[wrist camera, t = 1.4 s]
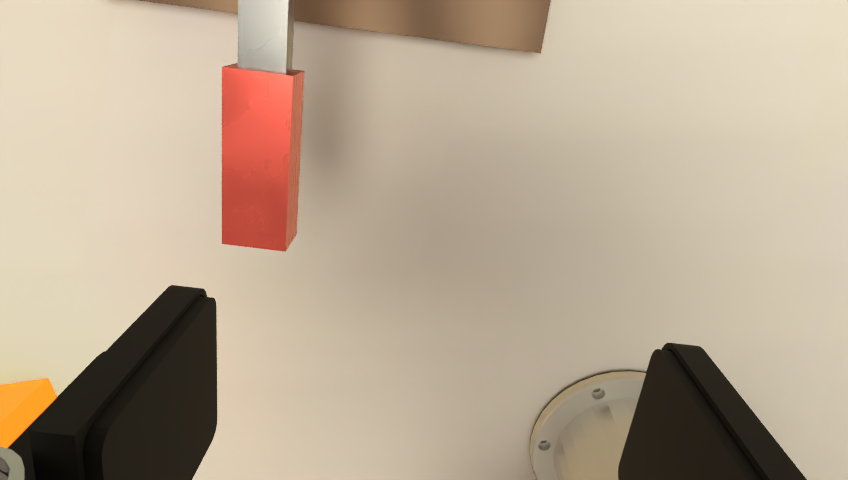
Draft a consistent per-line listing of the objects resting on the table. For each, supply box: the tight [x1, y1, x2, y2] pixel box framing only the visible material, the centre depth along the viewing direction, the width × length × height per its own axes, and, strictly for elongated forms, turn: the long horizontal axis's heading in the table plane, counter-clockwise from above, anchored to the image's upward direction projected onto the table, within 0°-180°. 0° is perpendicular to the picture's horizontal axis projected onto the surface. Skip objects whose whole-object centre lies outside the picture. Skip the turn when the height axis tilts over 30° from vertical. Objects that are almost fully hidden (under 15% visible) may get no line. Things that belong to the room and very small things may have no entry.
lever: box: [222, 0, 304, 251], centre depth 22 cm, size 3×16×3 cm, turn 173°
